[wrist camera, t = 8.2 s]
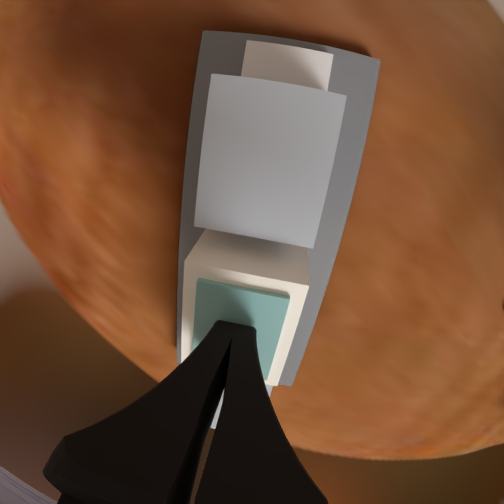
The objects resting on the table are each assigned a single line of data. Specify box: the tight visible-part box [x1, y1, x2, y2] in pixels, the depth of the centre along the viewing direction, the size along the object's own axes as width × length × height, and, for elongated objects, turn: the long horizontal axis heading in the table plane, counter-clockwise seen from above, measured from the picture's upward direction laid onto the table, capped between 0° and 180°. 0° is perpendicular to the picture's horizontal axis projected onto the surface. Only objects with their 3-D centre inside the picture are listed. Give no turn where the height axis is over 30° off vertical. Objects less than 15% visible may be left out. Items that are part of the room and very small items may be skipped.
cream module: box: [181, 229, 309, 386], centre depth 13 cm, size 4×5×5 cm
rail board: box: [177, 31, 381, 429], centre depth 14 cm, size 8×20×6 cm, turn 172°
